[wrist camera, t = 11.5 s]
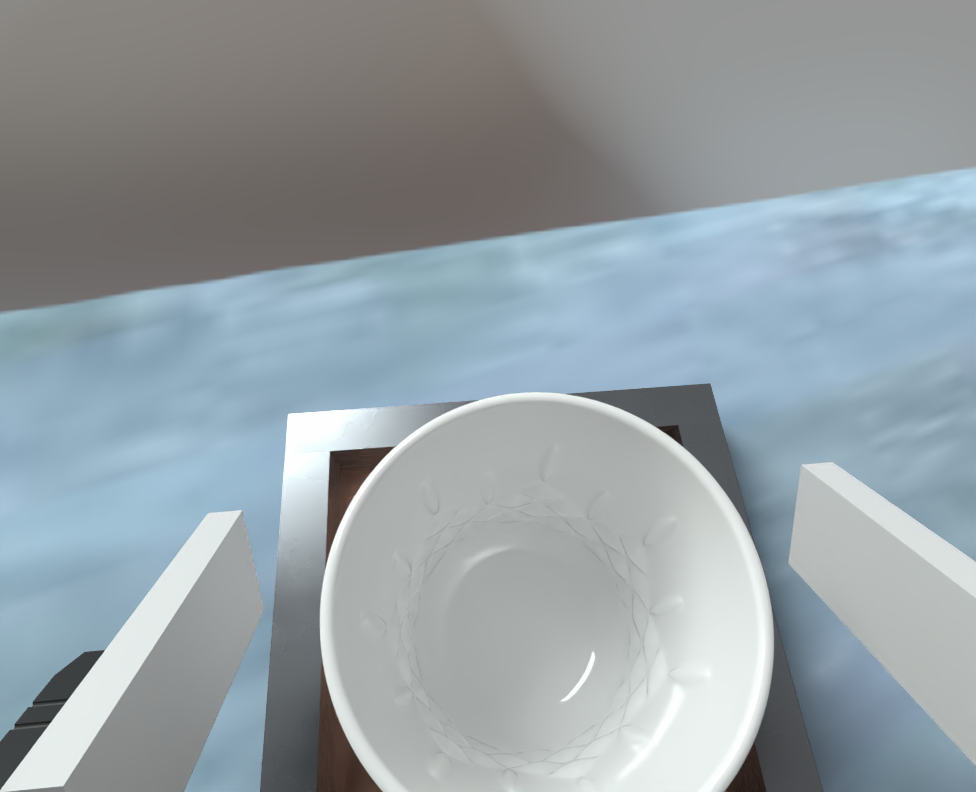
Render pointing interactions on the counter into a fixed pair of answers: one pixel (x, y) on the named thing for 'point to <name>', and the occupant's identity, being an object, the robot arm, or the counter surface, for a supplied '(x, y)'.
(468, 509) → the white cup
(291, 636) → the square tray
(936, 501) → the counter surface
